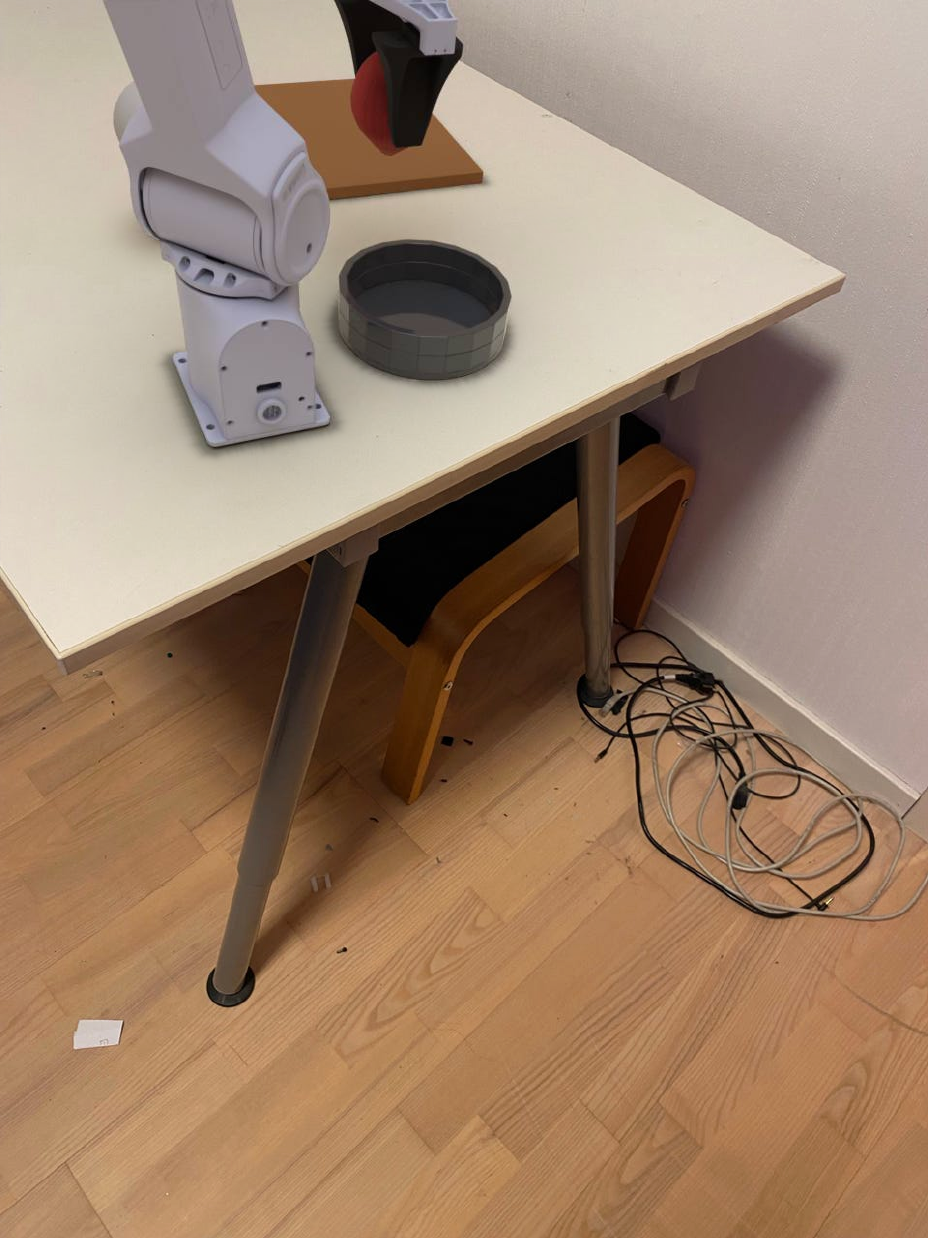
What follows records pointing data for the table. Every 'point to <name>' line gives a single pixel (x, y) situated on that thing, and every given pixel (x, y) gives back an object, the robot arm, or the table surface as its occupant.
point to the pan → (423, 308)
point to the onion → (373, 105)
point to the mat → (364, 144)
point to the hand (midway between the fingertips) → (390, 123)
